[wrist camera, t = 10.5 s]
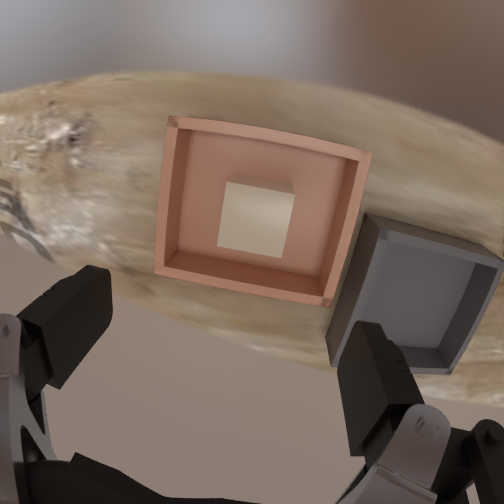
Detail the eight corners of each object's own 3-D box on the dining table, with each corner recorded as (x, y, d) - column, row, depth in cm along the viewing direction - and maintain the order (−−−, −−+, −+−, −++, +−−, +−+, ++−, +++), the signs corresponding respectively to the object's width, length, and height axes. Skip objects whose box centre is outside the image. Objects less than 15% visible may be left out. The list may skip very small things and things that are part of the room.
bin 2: (482, 245, 25) (506, 262, 21) (435, 349, 29) (450, 374, 25) (364, 212, 25) (381, 228, 21) (325, 337, 30) (330, 366, 25)
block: (291, 183, 24) (295, 194, 19) (281, 236, 25) (281, 258, 21) (236, 173, 24) (226, 181, 19) (227, 226, 25) (216, 246, 21)
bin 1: (356, 149, 23) (372, 152, 19) (322, 281, 27) (329, 307, 23) (187, 118, 23) (168, 115, 19) (171, 252, 28) (153, 273, 23)
